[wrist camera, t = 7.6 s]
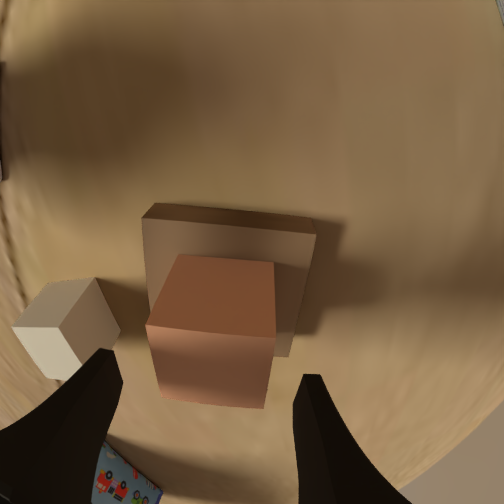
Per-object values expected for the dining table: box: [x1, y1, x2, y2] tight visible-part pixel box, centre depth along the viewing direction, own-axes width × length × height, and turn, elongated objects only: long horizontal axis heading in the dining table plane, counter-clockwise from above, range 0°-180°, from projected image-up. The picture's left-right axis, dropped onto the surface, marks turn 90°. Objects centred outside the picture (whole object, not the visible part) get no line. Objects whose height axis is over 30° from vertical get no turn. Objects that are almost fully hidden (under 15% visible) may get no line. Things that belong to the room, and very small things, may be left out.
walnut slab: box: [142, 203, 317, 357], centre depth 17 cm, size 8×8×2 cm
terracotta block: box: [145, 254, 276, 409], centre depth 13 cm, size 4×4×5 cm
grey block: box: [11, 277, 121, 381], centre depth 17 cm, size 4×4×5 cm
